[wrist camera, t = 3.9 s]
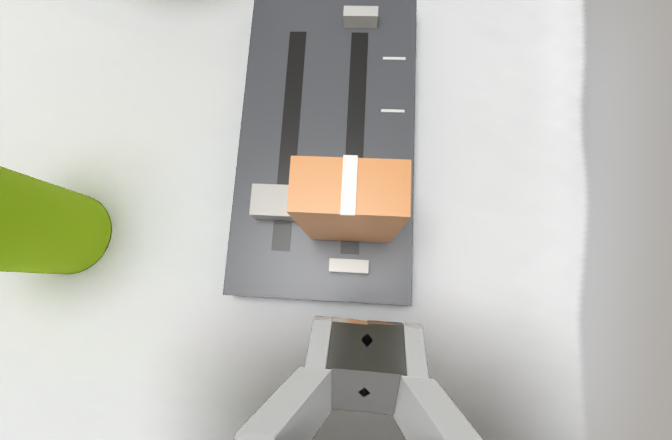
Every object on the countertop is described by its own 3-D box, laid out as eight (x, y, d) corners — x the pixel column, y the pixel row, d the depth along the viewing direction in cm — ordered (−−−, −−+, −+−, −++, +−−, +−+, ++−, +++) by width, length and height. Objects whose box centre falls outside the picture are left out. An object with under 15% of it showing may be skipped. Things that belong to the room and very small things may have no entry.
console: (406, 304, 25) (415, 306, 21) (232, 294, 25) (213, 295, 22) (412, 17, 29) (420, -22, 25) (261, 15, 29) (248, -23, 26)
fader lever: (389, 243, 23) (411, 217, 14) (311, 240, 23) (285, 212, 15) (390, 205, 24) (412, 157, 15) (313, 202, 24) (290, 153, 15)
